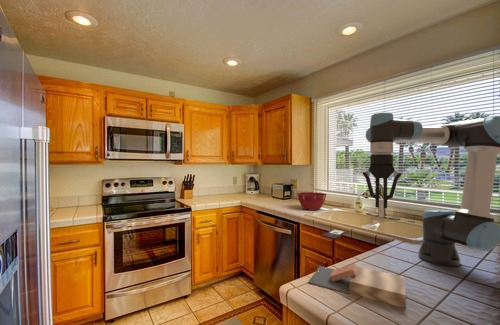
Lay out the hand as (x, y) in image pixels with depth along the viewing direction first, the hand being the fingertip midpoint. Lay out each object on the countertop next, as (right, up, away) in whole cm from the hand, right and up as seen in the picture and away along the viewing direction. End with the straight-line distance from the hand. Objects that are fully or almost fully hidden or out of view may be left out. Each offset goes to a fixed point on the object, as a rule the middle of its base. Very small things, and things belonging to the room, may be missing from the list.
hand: (381, 216), depth 88 cm
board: (-5, -24, -7) cm, 26 cm away
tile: (-14, -22, -1) cm, 26 cm away
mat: (-18, -24, +1) cm, 30 cm away
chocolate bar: (+4, -26, +59) cm, 65 cm away
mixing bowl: (+12, -26, +144) cm, 147 cm away
